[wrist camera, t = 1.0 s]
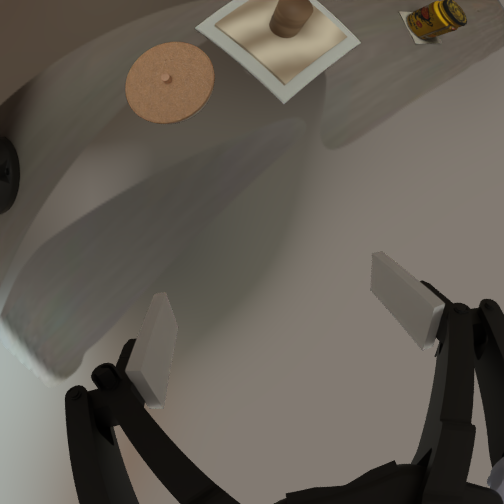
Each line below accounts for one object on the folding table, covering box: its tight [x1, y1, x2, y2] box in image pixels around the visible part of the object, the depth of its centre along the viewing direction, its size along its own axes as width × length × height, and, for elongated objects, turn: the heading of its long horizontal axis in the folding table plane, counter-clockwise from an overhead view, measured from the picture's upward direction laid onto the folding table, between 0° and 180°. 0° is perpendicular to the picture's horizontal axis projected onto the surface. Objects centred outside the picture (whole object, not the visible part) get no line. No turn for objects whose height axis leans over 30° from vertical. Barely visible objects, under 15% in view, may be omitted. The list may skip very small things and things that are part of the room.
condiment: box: [399, 0, 467, 44], centre depth 23 cm, size 7×8×12 cm
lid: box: [215, 0, 347, 85], centre depth 25 cm, size 14×14×8 cm
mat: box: [195, 0, 361, 104], centre depth 29 cm, size 18×18×1 cm
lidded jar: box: [125, 42, 215, 124], centre depth 28 cm, size 11×11×9 cm
